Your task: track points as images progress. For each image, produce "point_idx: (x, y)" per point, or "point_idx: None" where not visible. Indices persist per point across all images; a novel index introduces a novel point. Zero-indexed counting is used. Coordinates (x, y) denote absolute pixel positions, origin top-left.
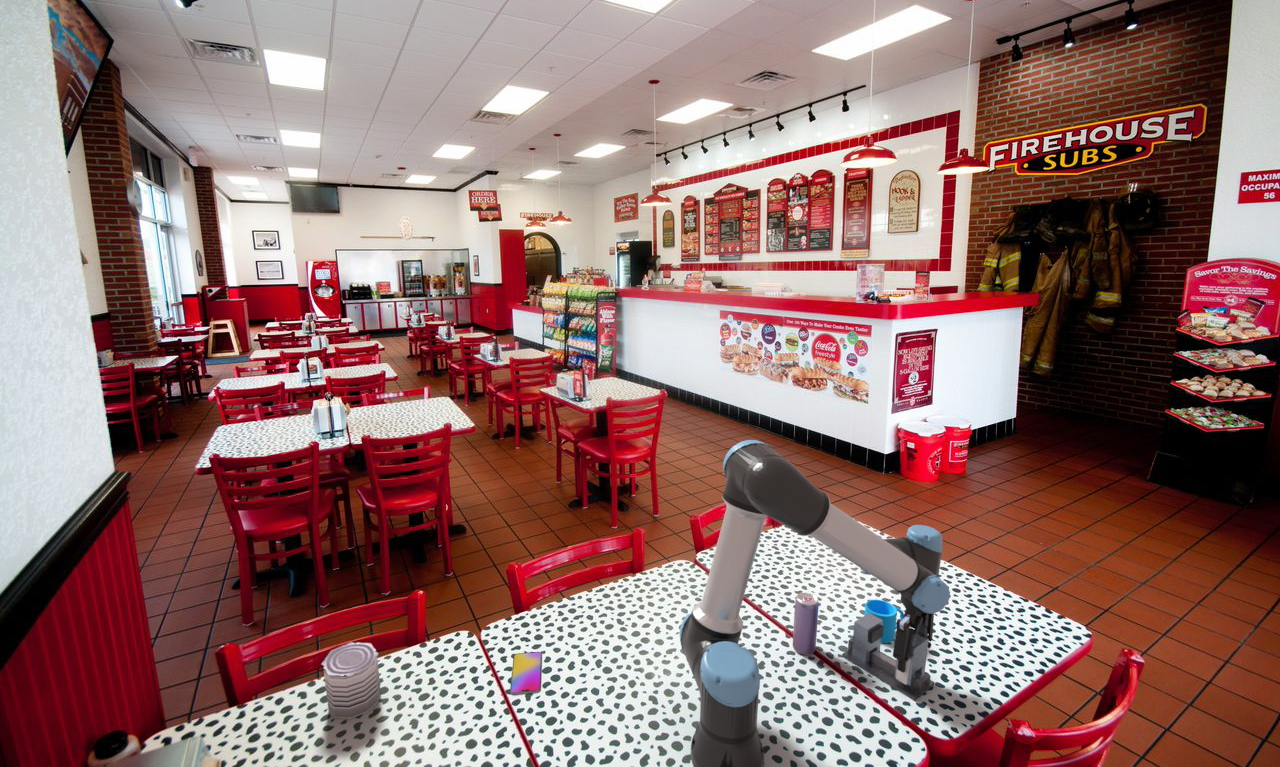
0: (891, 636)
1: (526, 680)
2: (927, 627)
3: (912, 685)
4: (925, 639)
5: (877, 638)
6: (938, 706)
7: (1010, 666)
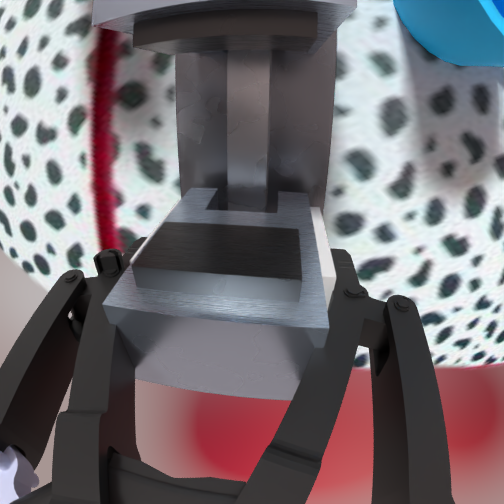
0: (454, 58)
1: None
2: (380, 410)
3: None
4: (282, 395)
5: (233, 48)
6: None
7: (489, 334)
